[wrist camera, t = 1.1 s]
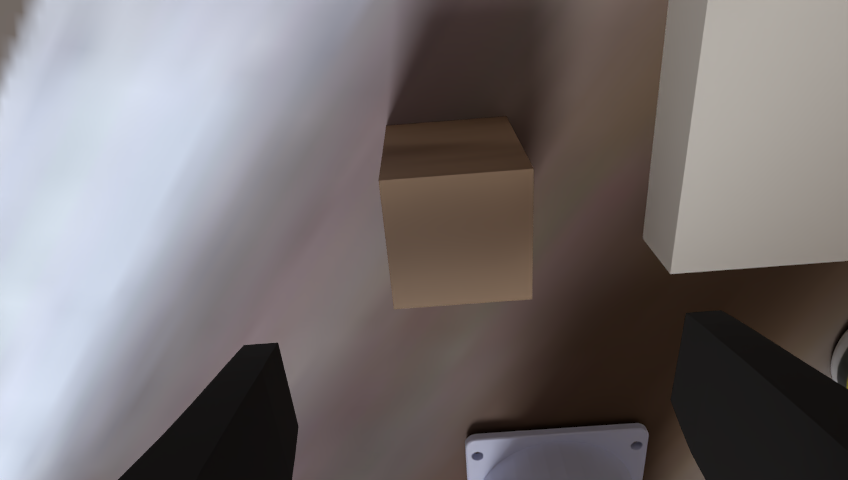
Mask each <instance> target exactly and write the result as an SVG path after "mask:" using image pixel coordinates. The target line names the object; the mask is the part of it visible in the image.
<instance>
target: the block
mask: <svg viewBox="0 0 848 480" xmlns="http://www.w3.org/2000/svg"><path fill="white" fill-rule="evenodd" d="M379 188H380V196H381V204H382V213H383V221H384V229H385V238H386V246H387V255H388V263H389V271H390V280H391V288H392V297H393V305H394V309H404V308H418V307H431V306H445V305H459V304H473V303H486V302H500V301H514V300H528V299H532V271H533V194H534V168H533V166H532V164H531V162H530V161H529V159H528V157H527V155H526V153H525V151H524V149H523V147H522V145H521V143H520V142H519V140H518V138H517V136H516V134H515V132H514V130H513V128H512V126H511V124H510V123H509V121H508V119H507V117H506V116H502V117H489V118H476V119H464V120H451V121H438V122H426V123H413V124H400V125H387V126H386V132H385V139H384V146H383V153H382V160H381V168H380V175H379Z"/></svg>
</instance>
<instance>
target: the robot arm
mask: <svg viewBox="0 0 848 480" xmlns="http://www.w3.org/2000/svg"><path fill="white" fill-rule="evenodd" d="M671 402H672V405H673V408H674V410H675V413H676V416H677V418H678V421H679V424H680V426H681V429H682V431H683V434H684V436H685V439H686V441H687V444H688V446H689V448H690V451H691V453H692V455H693V457H694V459H695V461H696V463H697V465H698V467H699V468H700V470H701V472H702V474H703V476H704V478H705V480H848V389H847V388H845V387H844V386H842V385H840V384H839V383H837V382H835V381H834V380H832V379H831V378H829V377H827V376H826V375H824V374H822V373H821V372H819V371H818V370H816V369H814V368H813V367H811V366H810V365H808V364H807V363H805V362H803V361H802V360H800V359H799V358H797V357H795V356H794V355H792V354H791V353H789V352H788V351H786V350H784V349H783V348H781V347H780V346H778V345H777V344H775V343H774V342H772V341H770V340H769V339H767V338H766V337H764V336H763V335H761V334H759V333H758V332H756V331H755V330H753V329H751V328H750V327H748V326H747V325H745V324H743V323H742V322H740V321H739V320H737V319H735V318H734V317H732V316H730V315H728V314H727V313H725V312H723V311H721V310H720V311H706V312H693V313H686V316H685V322H684V327H683V333H682V339H681V344H680V350H679V356H678V361H677V367H676V373H675V378H674V384H673V390H672V395H671ZM297 434H298V423H297V419H296V415H295V411H294V406H293V402H292V398H291V394H290V390H289V386H288V382H287V378H286V374H285V370H284V366H283V361H282V357H281V353H280V349H279V345H278V343H268V344H254V345H244V346H243V347H242V348H241V349H240V350H239V351H238V352H237V353H236V354H235V356H234V357H233V358H232V359H231V360H230V361H229V362H228V363H227V364H226V366H225V367H224V368H223V369H222V370H221V371H220V372H219V373H218V375H217V376H216V377H215V378H214V379H213V380H212V381H211V382H210V384H209V385H208V386H207V387H206V388H205V389H204V390H203V391H202V393H201V394H200V395H199V396H198V397H197V398H196V399H195V400H194V402H193V403H192V404H191V405H190V406H189V407H188V408H187V409H186V410H185V411H184V412H183V414H182V415H181V416H180V417H179V418H178V419H177V420H176V421H175V422H174V423H173V424H172V425H171V427H170V428H169V429H168V430H167V431H166V432H165V433H164V434H163V435H162V436H161V437H160V438H159V439H158V440H157V441H156V442H155V443H154V444H153V445H152V446H151V447H150V448H149V449H148V450H147V451H146V452H145V453H144V454H143V455H142V456H141V457H140V458H139V459H138V460H137V461H136V462H135V463H134V464H133V465H132V466H131V467H130V468H129V469H128V470H127V471H126V472H125V473H124V474H123V475H122V476H121V477H120V478H119V479H118V480H292V475H293V467H294V460H295V452H296V443H297ZM648 438H649V434H648V431H647V429H646V427H645V426H644V425H643V424H641V423H628V424H613V425H599V426H584V427H569V428H554V429H539V430H525V431H510V432H495V433H480V434H473V435H470V436H469V437H468V438H467V439H466V441H465V449H466V466H467V480H643V473H644V466H645V459H646V452H647V445H648ZM636 441H637V442H636ZM633 442H635V443H633ZM475 452H480V453H477V454H476V453H475Z"/></svg>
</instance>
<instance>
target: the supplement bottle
mask: <svg viewBox="0 0 848 480" xmlns="http://www.w3.org/2000/svg"><path fill="white" fill-rule="evenodd" d="M831 375H832V378H833V380H834V381H835V382H837V383H839V384H840V385H842V386H844V387H845V388H847V389H848V330H847V331H846V332H845V333H844V334H843V336H842V337H841V339H840V340H839V342H838V344H837V346H836V348H835V350H834V353H833V356H832V359H831Z"/></svg>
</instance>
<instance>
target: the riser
mask: <svg viewBox="0 0 848 480" xmlns="http://www.w3.org/2000/svg"><path fill="white" fill-rule="evenodd" d="M643 240H644V241H645V242H646V243H647V245H648V246H649V247H650V249H651V250H652V251H653V253H654V254H655V255H656V256H657V258H658V259H659V260H660V262H661V263H662V264H663V265H664V267H665V268H666V269H667V271H668V272H669V273H670V274H678V273H691V272H705V271H718V270H731V269H745V268H758V267H772V266H785V265H798V264H812V263H825V262H839V261H848V0H669V2H668V12H667V21H666V30H665V39H664V48H663V57H662V66H661V75H660V84H659V94H658V103H657V112H656V121H655V130H654V139H653V148H652V157H651V166H650V176H649V185H648V194H647V203H646V212H645V221H644V230H643Z"/></svg>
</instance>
